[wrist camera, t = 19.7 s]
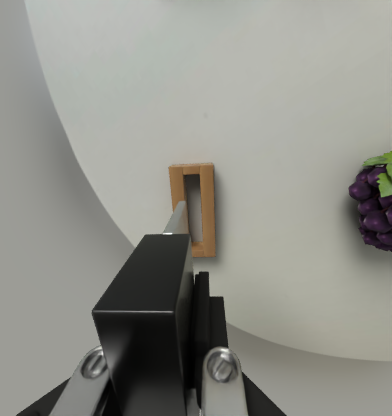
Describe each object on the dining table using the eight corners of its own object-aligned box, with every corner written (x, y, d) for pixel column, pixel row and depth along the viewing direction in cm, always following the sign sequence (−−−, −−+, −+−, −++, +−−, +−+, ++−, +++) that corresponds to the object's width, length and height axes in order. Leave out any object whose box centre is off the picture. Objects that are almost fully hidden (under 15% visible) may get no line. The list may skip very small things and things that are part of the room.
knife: (178, 304, 16) (144, 494, 7) (167, 201, 13) (89, 311, 4) (203, 304, 16) (197, 498, 7) (197, 200, 13) (175, 311, 4)
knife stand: (179, 247, 28) (177, 257, 26) (172, 164, 24) (168, 166, 22) (214, 247, 28) (215, 256, 25) (212, 162, 24) (213, 164, 22)
